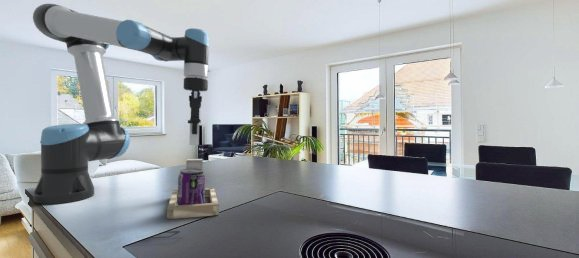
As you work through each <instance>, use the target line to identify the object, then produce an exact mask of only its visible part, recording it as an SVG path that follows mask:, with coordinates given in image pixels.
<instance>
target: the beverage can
mask: <svg viewBox="0 0 579 258" xmlns="http://www.w3.org/2000/svg"><path fill="white" fill-rule="evenodd" d="M179 171H180V173H179V174H178V180H177V183H178V184H177V190H178V199H177V205H190V204H205V200H206V199H205V198H206V197H205V189H206V175H205V173H204V169H203V168H202V169H199V168H188V169H186V168H183V169H180V170H179Z"/></svg>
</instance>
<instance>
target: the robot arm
mask: <svg viewBox="0 0 579 258" xmlns="http://www.w3.org/2000/svg"><path fill="white" fill-rule="evenodd" d="M32 22H33V24H34V26H35V28H36V29H37V30H38V31H39V32H40V33H42V34H43V35H44V36H46V37H47V38H50V39H51V40H55V41H59V42H62V43H65V45H66V48H67V49H66V50H67V52H68V54H70V55H72V56H73V57H74V64H75V69H76V75H77V80H78V85H79V91H80V97H81V102H82V107H83V112H84V118H85V121H83V123H69V124H67V123H66V124H57V125H51V126H46V127H45V128H43V129H42V130H41V136H40V137H41V138H40V141H39V142H40V159H41V160H40V164H41V165H40V171H41V172H40V178H39V180H38V183H37V185H36V187H35V190H34V192H33V195H32V196H33V197H32V198H33V200H32V201H33V202H34V203H36V204H39V205H40V204H42V205H51V204H52V205H53V204H54V205H55V204H56V205H57V204H63V203H64V204H65V203H71V202H72V203H73V202H77V201H81V200H85V199H89V198H91V197H92V196H94V195H95V186H94V183H93V181H92V179H91V178H92V177H91V176H90V173H89V162H94V161H101V160H111V159H114V158H119V157H121V156H123V155H124V154H125V153H126V152H127V150H128V149H129V147H130V143H131V137H130V133H129V132H128V130H126V129H125V128H124V127H121V123H120V120H119V119H118V118H116V117H115V116H114V112H113V107H112V101H111V96H110V91H109V86H108V80H107V75H106V70H105V65H104V59H103V56H104V55H105V54H106V53H107V49H108V48H109V47H110V46H114V47H120V48H125V49H129V50H132V51H133V50H134V51H137V52H141V53H145V54H148V55H150V56H152V57H153V58H154V60H156V61H160V62H177V61H178V62H179V61H183V76H184V79H183V90H186V91H191V92H190V95H188V101H189V108H190V119H187V124H189V146H199V145H200V123H201V119H200V109H201V107H202V102H203V96H201V92H207V91H208V85H209V81H208V80H207V79H208V77H209V73H210V72H211V69H209V54H210V53H209V52H210V40H209V39H210V38H209V36H210V35H209V33H208V32H207V31H205V30H203V29H201V28H191V27H190V28H188V29H185V32H184V36H179V37H173V36H172V37H171V36H169V35H166V34H164V33H162V32H161V31H157V30H155V29H153V28H152V27H148V26H147V25H145V24H143V23H141V22H139V21H134V20H132V19H125V20H118V19H114V18H108V17H103V16H98V15H93V14H87V13H82V12H81V13H80V12H78V11H75V10H74V9H70V8H68V7H66V6H63V5H60V4H56V3H44V4H40V5H38V6H37V7H36V8H35V9H34V11H33V13H32Z"/></svg>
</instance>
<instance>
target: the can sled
mask: <svg viewBox="0 0 579 258" xmlns="http://www.w3.org/2000/svg"><path fill="white" fill-rule="evenodd" d="M203 161H204V159H203V158H189V159H188V158H187V159H186V164H185V165H186V167H185V169H188V168H199V169H203V164H204V163H203ZM205 198H209V200H210V203H209V202H208V203H207V202H206V203H205V204H190V205H178V189H173V190H172V193H171V196H170V199H169V203H168V205H167V207H166V220H175V219H176V220H177V219H186V218H188V219H189V218H199V217H201V218H202V217H211V216H219V215H220V203H219V201H218V197H217V193H216V190H215V187H209V188H207V187H205Z"/></svg>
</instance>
